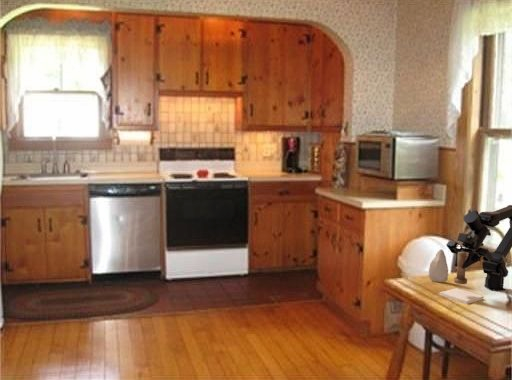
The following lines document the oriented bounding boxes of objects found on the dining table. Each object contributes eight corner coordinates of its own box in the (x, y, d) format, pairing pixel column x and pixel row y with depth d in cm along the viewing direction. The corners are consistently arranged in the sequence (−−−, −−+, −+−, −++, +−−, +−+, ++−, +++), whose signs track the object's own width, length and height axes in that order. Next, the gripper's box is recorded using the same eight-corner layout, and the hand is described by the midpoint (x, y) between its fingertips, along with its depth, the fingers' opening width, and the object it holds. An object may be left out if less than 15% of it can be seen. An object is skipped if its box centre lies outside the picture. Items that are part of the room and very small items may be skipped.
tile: (456, 290, 232) (456, 288, 232) (483, 299, 221) (483, 296, 221) (439, 295, 226) (439, 292, 226) (466, 304, 215) (466, 301, 215)
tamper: (459, 279, 226) (460, 250, 224) (469, 282, 222) (471, 253, 220) (451, 281, 223) (452, 252, 221) (461, 285, 219) (463, 255, 217)
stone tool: (447, 281, 246) (449, 249, 244) (447, 283, 243) (449, 250, 241) (428, 279, 249) (429, 247, 247) (427, 281, 246) (429, 248, 244)
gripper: (449, 222, 229) (431, 251, 225) (489, 229, 213) (470, 261, 209) (460, 237, 234) (443, 266, 230) (500, 246, 219) (482, 277, 214)
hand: (459, 267), depth 221 cm, fingers closed on tamper, 3 cm apart
